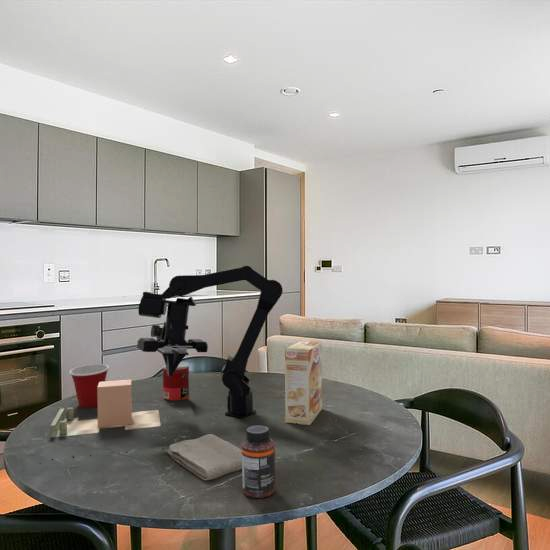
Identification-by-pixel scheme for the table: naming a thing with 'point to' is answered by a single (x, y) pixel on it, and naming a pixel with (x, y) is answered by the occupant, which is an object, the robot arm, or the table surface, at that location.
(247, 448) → the supplement bottle
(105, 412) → the block
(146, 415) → the trap board
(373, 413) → the table surface
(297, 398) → the coffeecake box
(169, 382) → the canned food
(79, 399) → the plastic cup
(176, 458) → the washcloth
